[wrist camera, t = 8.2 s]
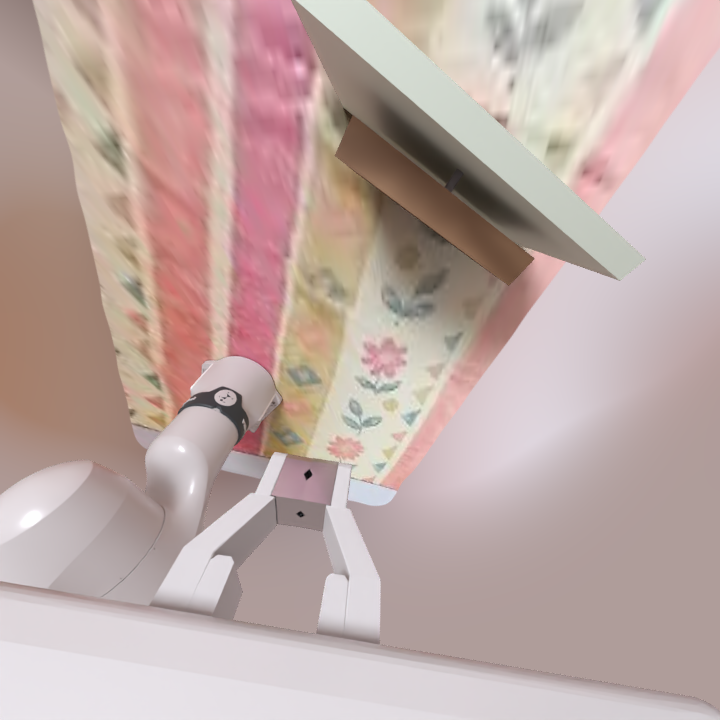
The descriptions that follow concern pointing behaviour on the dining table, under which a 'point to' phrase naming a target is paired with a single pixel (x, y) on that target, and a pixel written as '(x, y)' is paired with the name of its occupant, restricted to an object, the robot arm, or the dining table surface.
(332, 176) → the dining table surface
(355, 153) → the wooden picture frame
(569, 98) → the dining table surface
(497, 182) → the wall panel
